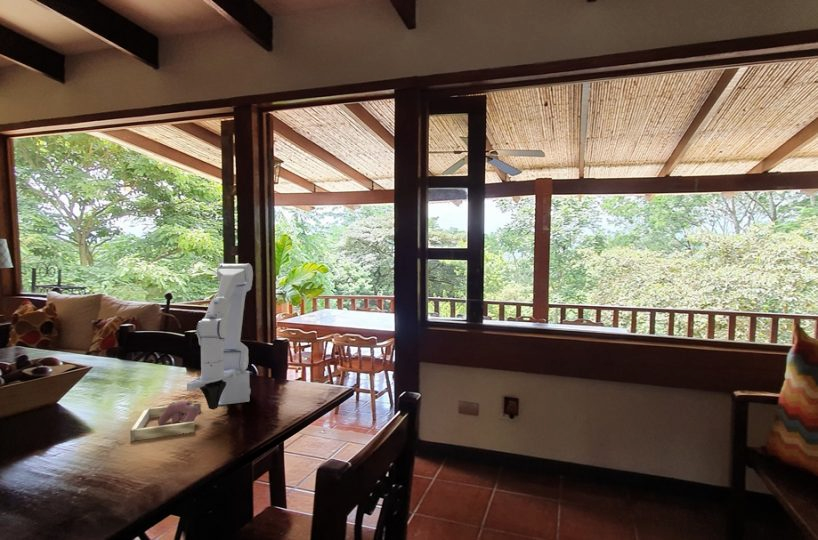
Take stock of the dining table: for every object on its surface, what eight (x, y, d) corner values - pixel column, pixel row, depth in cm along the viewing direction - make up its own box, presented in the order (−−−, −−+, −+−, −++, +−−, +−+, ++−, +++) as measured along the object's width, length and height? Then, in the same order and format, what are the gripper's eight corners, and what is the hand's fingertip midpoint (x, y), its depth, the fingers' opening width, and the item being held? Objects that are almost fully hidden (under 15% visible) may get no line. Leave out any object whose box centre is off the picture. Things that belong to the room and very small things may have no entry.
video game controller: (195, 430, 110) (204, 404, 113) (182, 429, 106) (192, 401, 109) (168, 426, 113) (177, 400, 116) (154, 424, 109) (164, 397, 112)
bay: (200, 410, 120) (200, 402, 120) (193, 432, 105) (193, 422, 105) (145, 417, 115) (145, 408, 115) (130, 441, 100) (130, 431, 100)
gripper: (223, 353, 122) (224, 398, 122) (178, 365, 109) (179, 415, 109) (240, 355, 119) (241, 401, 120) (196, 368, 106) (197, 419, 106)
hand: (213, 408), depth 114 cm, fingers closed
